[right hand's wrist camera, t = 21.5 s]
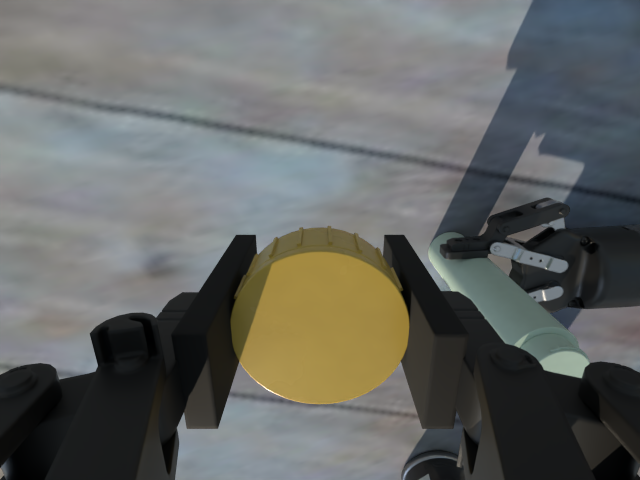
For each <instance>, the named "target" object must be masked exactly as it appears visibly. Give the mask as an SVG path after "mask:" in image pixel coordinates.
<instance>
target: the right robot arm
mask: <svg viewBox="0 0 640 480" xmlns="http://www.w3.org/2000/svg"><path fill="white" fill-rule="evenodd" d="M256 254H257V247H256V235H236V236H235V238H234V239H233V241H232V242H231V244H230V245H229V247H228V248H227V250H226V251H225V253H224V254H223V256H222V257H221V259H220V261H219V262H218V264H217V265H216V267H215V268H214V270H213V271H212V273H211V274H210V276H209V277H208V279H207V280H206V282H205V283H204V285H203V286H202V288H201V290H200V291H199V292H182V293H181V294H179V295H178V296H176V297H175V298H173V299H171V300H170V301H169V302H168V303H167V305H166V306H165V307H164V308H163V310H162V312H160V314H159V315H158V316H157V318H155V317H154V316H153V315H151V314H147V313H129V314H124V315H119V316H117V317H114V318H111V319H109V320H106V321H105V322H103V323H101V324H100V325H98V326H96V327H95V329H94V330H93V331H92V332H91V333H90V336H91V340H92V344H93V348H94V352H95V356H96V359H97V363H98V367H97V370H96V372H93V373H89V374H84V375H80V376H75V377H70V378H65V379H60V380H59V378H58V374H57V371H56V369H55V368H54V367H53V366H51V365H49V364H42V363H38V364H30V365H24V366H20V367H17V368H14V369H11V370H9V371H7V372H5V373H3V374H1V375H0V467H1V469H2V471H3V474H4V476H3V477H2V478H1V479H0V480H175V474H176V465H177V457H178V449H179V438H178V432H177V426H178V424H179V422H180V419H181V417H182V415H183V413H184V414H185V420H186V426H187V429H218V426H219V423H220V420H221V417H222V414H223V411H224V408H225V404H226V401H227V398H228V395H229V392H230V389H231V386H232V382H233V379H234V376H235V373H236V370H237V367H238V364H239V360H238V358H237V356H236V353H235V351H234V348H233V343H232V333H231V322H230V318H231V313H232V309H233V306H234V303H235V300H236V299H234V296H235V293H236V291H237V289H238V287H239V285H240V282H241V280H242V278H243V276H244V275H246V274H247V272H248V270H249V267H250V265H251V263H252V260H253V258H254V256H255V255H256ZM383 257H384V259H385V260H386V261H387V263H388V265H389V266H390V268H392V267H393V268H394V271H395V273H396V275H397V277H398V279H399V282H400V284H401V286H402V288H403V291H401V293H402V295H403V298H404V300H405V303H406V305H407V308H408V313H409V318H410V325H409V336H408V345H407V348H406V351H405V353H404V356H403V358H402V360H401V363H402V366H403V369H404V372H405V375H406V379H407V382H408V385H409V388H410V391H411V394H412V397H413V401H414V404H415V407H416V410H417V413H418V416H419V419H420V423H421V426H422V429H453V428H454V422H455V416H456V410H457V413H458V415H459V417H460V419H461V421H462V424H463V432H462V437H461V443H460V448H459V454H458V460H457V467H461V468H462V462H463V465H464V473H465V480H640V477H639V476H638V475H637V472H638V470H639V468H640V373H639V372H637V371H635V370H633V369H631V368H629V367H626V366H621V365H620V364H615V363H608V362H594V363H590V364H589V365H587V366H586V367H585V369H584V372H583V375H582V378H578V377H573V376H569V375H564V374H559V373H554V372H550V371H546V370H544V369H543V367H542V365H541V364H540V362H539V361H538V360H537V359H536V357H534V356H533V355H531V354H530V353H529V352H527V351H525V350H523V349H521V348H519V347H516V346H514V345H510V344H506V343H505V342H504V341H503V340H502V339H501V337H500V336H499V335H498V334H497V332H496V331H495V330H494V328H493V327H492V326H491V325H490V323H489V322H488V321H487V319H485V317H484V316H483V314H482V313H481V312H480V311H478V308H477V307H476V305H475V304H474V303H473V302H472V300H471V299H469V298H468V297H466V296H465V295H463V294H461V293H460V292H458V291H440V289H439V288H438V286H437V285H436V283H435V282H434V280H433V278H432V277H431V275H430V274H429V272H428V271H427V269H426V268H425V266H424V265H423V263H422V262H421V260H420V259H419V257H418V256H417V254H416V253H415V251H414V249H413V248H412V246H411V245H410V243H409V242H408V240H407V239H406V237H405V236H404V235H385V236H384V251H383Z"/></svg>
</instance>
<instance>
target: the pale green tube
mask: <svg viewBox="0 0 640 480" xmlns="http://www.w3.org/2000/svg"><path fill="white" fill-rule="evenodd" d="M459 237H464V236H463V235H461V234H459V233H456V232H447V233H443V234H441V235H439V236H438V237H436V238H435V239H434V240H433V242H432V243H431V245H430V247H429V252H428V255H429V259H430V261H431V263H432V264H433V265H434V267H435V268H436V270H437V271H438V272H439V274H440V275H441V277H442V278H443V279H444V281H445V282H446V284H447V285H448V286H449V288H450V289H451V290H452V291H458V292H460V293H461V294H463V295H465V296H466V297H468V298H469V299H471V300H472V302H473V303H474V304H475V305H476V307H477V308H478V311H480V312H481V313H482V314H483V316H484V317H485V319H487V321H488V322H489V323H490V325H491V326H492V327H493V328H494V330H495V331H496V332H497V334H498V335H499V336H500V337H501V339H502V340H503V341H504V342H505V343H506V344H510V345H514V346H516V347H519V348H521V349H523V350H525V351H527V352H529V353H530V354H531V355H533V356H534V357H536V359H537V360H538V361H539V362H540V364H541V365H542V367H543V369H544V370H546V371H550V372H554V373H559V374H564V375H569V376H573V377H578V378H582V375H583V372H584V369H585V367H586V366H587V365H589V364H590V362H589V359H588V357H587V355H586V354H585V353H584V352H583V351H582V350H581V349H579V345H578V342H577V339H576V338H575V336H574V335H573V334H572V333H571V332H570V331H568V330H567V329H566V328H565V327H564V326H563V325H562V324H561V323H560V322H558V321H557V320H556V319H555V318H554V317H553V316H552V315H551V314H550V313H548V312H547V311H546V310H545V309H544V308H543V307H542V306H541V305H540V304H538V303H537V302H536V301H535V300H534V299H533V298H532V297H531V296H530V295H528V294H527V293H526V292H525V291H524V290H523V289H522V288H521V287H520V286H518V285H517V284H516V283H515V282H514V281H513V280H512V279H511V278H510V277H508V276H507V275H506V274H505V273H504V272H503V271H502V270H501V269H500V268H498V267H497V266H496V265H495V264H494V263H493V262H492V261H491V260H490V259H488V258H472V259H455V260H448V259H445V258H444V257H443V256H442V255H441V254H440V245H441V244H446V242H447V240H448V239H451V238H459Z"/></svg>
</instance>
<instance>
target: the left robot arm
mask: <svg viewBox="0 0 640 480" xmlns="http://www.w3.org/2000/svg"><path fill="white" fill-rule="evenodd" d="M569 212H570V208H569V206H568V205H566V204H563V203H561V202H559V201H556V200H553V199H551V198H544V199H541V200H537V201H534V202H531V203H528V204H525V205H522V206H519V207H516V208H513V209H510V210H507V211H504V212H501V213H498V214H494V215H492V216H490V217H489V218H488V220H487V223H488V228H487V230H486V231H485V233H484V234H482V235H481V236H475V237H459V238H451V239H448V240H447V242H446V244H441V245H440V254H441V255H442V256H443V257H444V258H445V259H448V260H455V259H472V258H487V257H488V254H493V255H497V256H501V257H505V258H509V259H511V263H512V270H511V272H510V274H509V277H510V278H511V279H512V280H513V281H514V282H515V283H516V284H517V285H518V286H520V287H521V288H522V289H523V290H524V291H525V292H526V293H527V294H528V295H530V296H531V297H532V298H533V299H534V300H535V301H536V302H537V303H538V304H540V305H541V306H542V307H543V308H544V309H545V310H546V311H547V312H548V313H553V312H557V311H559V310H561V309H563V308H566V307H573V308H581V309H597V308H614V307H631V306H640V224H639V225H623V226H607V227H591V228H575V229H567V228H565V221H564V217H566V216H567V215H568V214H569ZM539 225H540V226H542V227H548V228H546V229H545V230H543V231H542V232H540V233H539V234H537V235H536V236H534V237H533V238H531V239H530V240H528V241H527V242H525V241H521V240H517V239H513V238H509V237H507V235H511V234H514V233H517V232H520V231H523V230H526V229H530V228H533V227H536V226H539ZM457 460H458V456H457V455H455V454H453V453H449V452H444V451H432V452H427V453H423V454H421V455H418V456H416V457H415V458H413V459H412V460H410V461H409V462H408V463H407V464H406V466H405V467H404V469H403V471H402V476H401V479H402V480H465V473H464V465H463V462H462V468H461V467H457Z"/></svg>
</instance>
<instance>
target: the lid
mask: <svg viewBox="0 0 640 480" xmlns="http://www.w3.org/2000/svg"><path fill="white" fill-rule="evenodd" d="M401 291H403V288H402V286H401V284H400V282H399V279H398V277H397V275H396V273H395V271H394V268H393V267H392V268H390V266H389V265H388V263H387V261H386V260H385V259H384V257H383V256H382V254H381V251H380V249H379V248H378V247H377V248H376V249H375V248H374V247H373V246H372V245H371V244H369V243H368V242H366V241H365V240H364V239H362V238H360V237H359V236H358V234H357V233H354V234H351V233H348V232H346V231H342V230H337V229H332V228H331V226H328V227H327V228H309V229H303V227H302V228H299V230H298V231H295V232H291V233H289V234H287V235H284V236H282V237H280V238H279V239H278V238H277V237H276V238H274V240H273V242H272V243H271V244H269V245H268V246H267V247H266V248H265V249H264V250H263V251H262V252H261V253H260V254H259V255H258V254H256V255H255V256H254V258H253V260H252V263H251V265H250V267H249V270H248V272H247V274H246V275H244V276H243V278H242V280H241V282H240V285H239V287H238V289H237V291H236V293H235V296H234V299H236V300H235V303H234V306H233V309H232V313H231V318H230V322H231V333H232V343H233V348H234V351H235V353H236V356H237V358H238V360H239V361H240V363H241V365H242V366H243V368H244V369H245V370H246V371H247V373H248V374H249V375H250V376H251V377H252V378H253V379H254V380H255V381H256V382H258V383H259V384H260V385H262V386H263V387H264V388H266V389H267V390H269V391H271V392H273V393H275V394H277V395H279V396H281V397H284V398H287V399H290V400H293V401H298V402H303V403H311V404H330V403H338V402H342V401H347V400H350V399H353V398H356V397H359V396H361V395H363V394H365V393H367V392H369V391H371V390H372V389H374V388H376V387H377V386H379V385H380V384H381V383H382V382H384V381H385V380H386V379H387V378H388V377H389V376H390V375H391V374H392V373H393V372H394V370H395V369H396V368H397V366H398V365H399V363H400V361H401V360H402V358H403V356H404V353H405V351H406V348H407V345H408V336H409V325H410V318H409V313H408V308H407V305H406V303H405V300H404V298H403V295H402V293H401Z"/></svg>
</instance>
